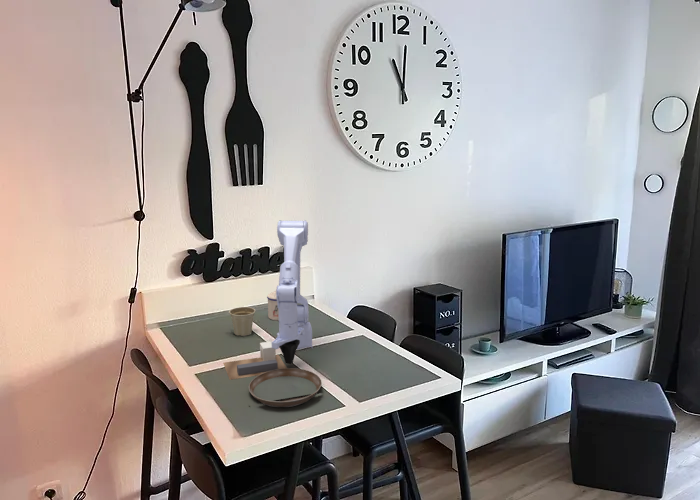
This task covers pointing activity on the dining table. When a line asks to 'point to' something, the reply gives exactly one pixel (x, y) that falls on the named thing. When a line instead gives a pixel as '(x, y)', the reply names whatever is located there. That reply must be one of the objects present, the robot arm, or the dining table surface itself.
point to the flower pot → (242, 320)
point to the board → (232, 366)
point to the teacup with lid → (273, 306)
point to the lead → (257, 367)
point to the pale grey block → (267, 351)
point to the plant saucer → (286, 372)
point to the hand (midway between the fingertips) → (289, 362)
